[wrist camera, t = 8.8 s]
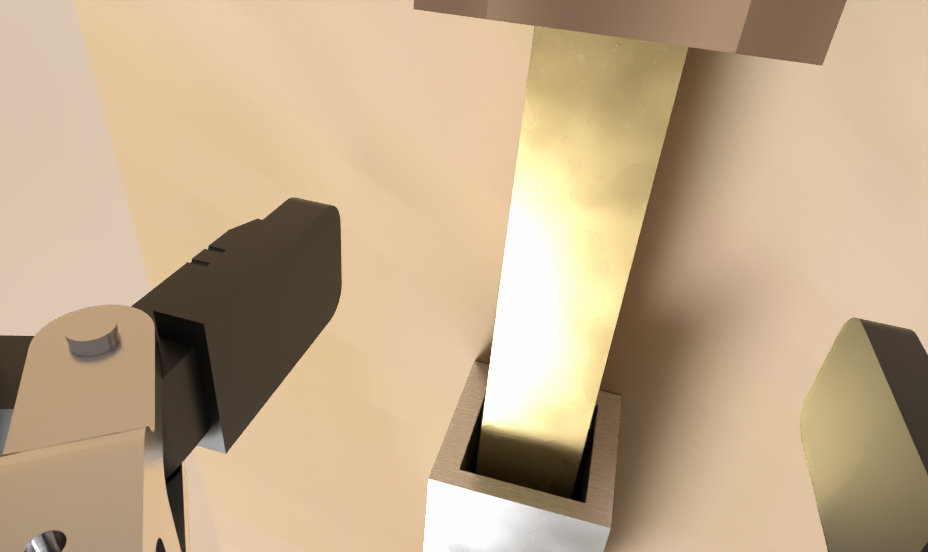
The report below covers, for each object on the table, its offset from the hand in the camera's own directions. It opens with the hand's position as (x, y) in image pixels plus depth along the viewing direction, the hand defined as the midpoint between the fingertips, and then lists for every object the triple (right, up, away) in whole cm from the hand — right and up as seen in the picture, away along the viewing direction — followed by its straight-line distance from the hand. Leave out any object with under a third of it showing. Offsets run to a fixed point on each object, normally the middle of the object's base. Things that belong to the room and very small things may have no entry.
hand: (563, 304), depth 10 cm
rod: (+3, +3, +14) cm, 14 cm away
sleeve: (+2, -10, +23) cm, 26 cm away
